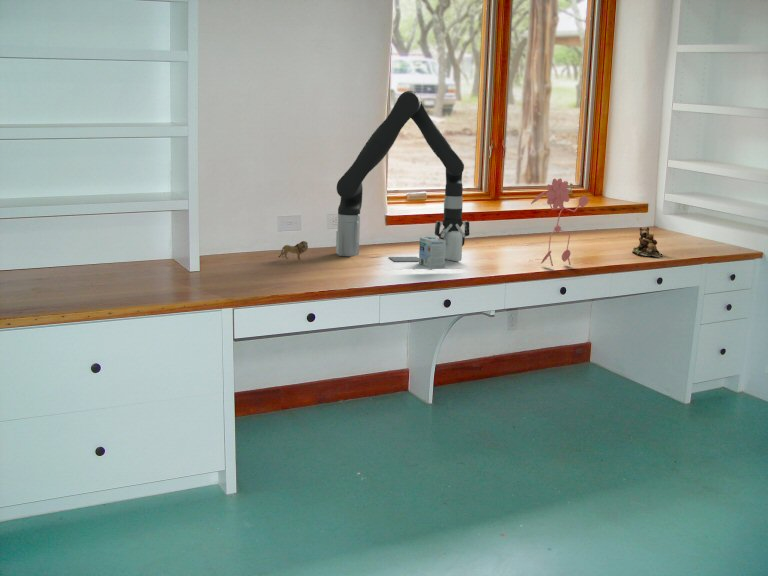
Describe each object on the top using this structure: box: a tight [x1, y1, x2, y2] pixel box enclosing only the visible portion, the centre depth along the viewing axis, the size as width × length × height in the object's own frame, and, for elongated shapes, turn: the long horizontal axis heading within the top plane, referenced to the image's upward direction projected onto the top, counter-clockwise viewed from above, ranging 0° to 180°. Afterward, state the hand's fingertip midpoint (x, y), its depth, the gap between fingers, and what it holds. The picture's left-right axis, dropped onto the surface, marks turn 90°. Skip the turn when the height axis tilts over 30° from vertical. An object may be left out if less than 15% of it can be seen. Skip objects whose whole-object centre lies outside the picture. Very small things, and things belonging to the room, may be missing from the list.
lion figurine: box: [277, 240, 309, 261], centre depth 361 cm, size 12×4×7 cm, turn 92°
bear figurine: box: [631, 226, 663, 258], centre depth 404 cm, size 14×15×12 cm
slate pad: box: [388, 256, 419, 263], centre depth 368 cm, size 12×10×1 cm
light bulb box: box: [418, 236, 446, 269], centre depth 357 cm, size 11×7×11 cm, turn 23°
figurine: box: [528, 177, 589, 267], centre depth 369 cm, size 15×26×35 cm, turn 118°
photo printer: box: [443, 230, 463, 262], centre depth 371 cm, size 10×4×12 cm, turn 39°
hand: (451, 246), depth 371 cm, fingers open, 8 cm apart
